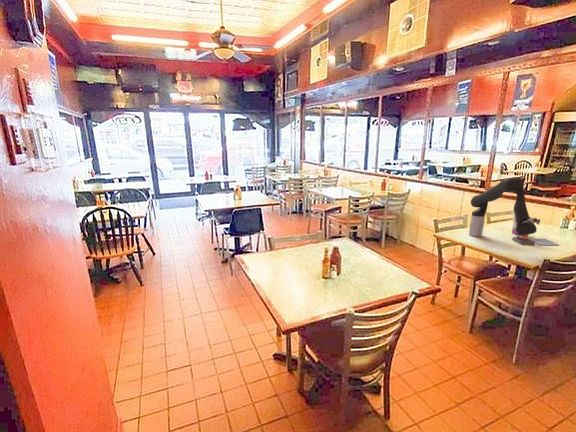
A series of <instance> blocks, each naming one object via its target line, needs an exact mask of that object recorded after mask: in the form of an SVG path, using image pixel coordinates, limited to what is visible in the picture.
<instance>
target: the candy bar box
mask: <svg viewBox="0 0 576 432" xmlns="http://www.w3.org/2000/svg"><path fill="white" fill-rule="evenodd" d="M513 217H514V218H513V222H512V223H513V224H512V230H511V233H512V234H514V235H516V236H519V237H520V235H518V234H517V232H516V224H517V223H516V222H515V217H516V216H515V215H514V216H513Z"/></svg>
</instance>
